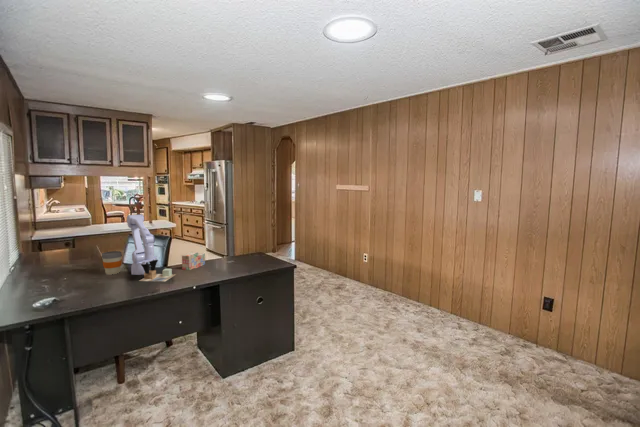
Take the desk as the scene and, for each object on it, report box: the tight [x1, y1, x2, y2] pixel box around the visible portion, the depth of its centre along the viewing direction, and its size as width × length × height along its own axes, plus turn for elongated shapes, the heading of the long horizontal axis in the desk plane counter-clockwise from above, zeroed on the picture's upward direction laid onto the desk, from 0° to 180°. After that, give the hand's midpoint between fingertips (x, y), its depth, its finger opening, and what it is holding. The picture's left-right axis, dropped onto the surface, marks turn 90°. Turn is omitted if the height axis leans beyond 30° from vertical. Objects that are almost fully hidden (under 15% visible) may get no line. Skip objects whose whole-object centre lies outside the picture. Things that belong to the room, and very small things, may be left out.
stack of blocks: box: [181, 251, 206, 271], centre depth 253 cm, size 21×6×12 cm, turn 168°
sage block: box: [162, 268, 173, 276], centre depth 228 cm, size 4×4×4 cm
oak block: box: [143, 269, 157, 279], centre depth 223 cm, size 5×5×4 cm
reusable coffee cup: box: [101, 250, 123, 276], centre depth 236 cm, size 13×13×15 cm
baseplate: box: [139, 273, 177, 282], centre depth 224 cm, size 18×16×1 cm
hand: (150, 271), depth 222 cm, fingers open, 7 cm apart
